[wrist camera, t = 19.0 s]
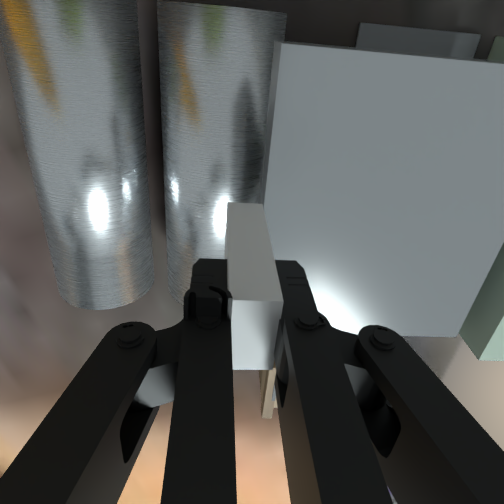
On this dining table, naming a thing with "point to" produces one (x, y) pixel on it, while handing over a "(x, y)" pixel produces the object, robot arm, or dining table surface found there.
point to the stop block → (488, 291)
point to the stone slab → (385, 181)
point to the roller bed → (137, 133)
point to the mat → (417, 40)
